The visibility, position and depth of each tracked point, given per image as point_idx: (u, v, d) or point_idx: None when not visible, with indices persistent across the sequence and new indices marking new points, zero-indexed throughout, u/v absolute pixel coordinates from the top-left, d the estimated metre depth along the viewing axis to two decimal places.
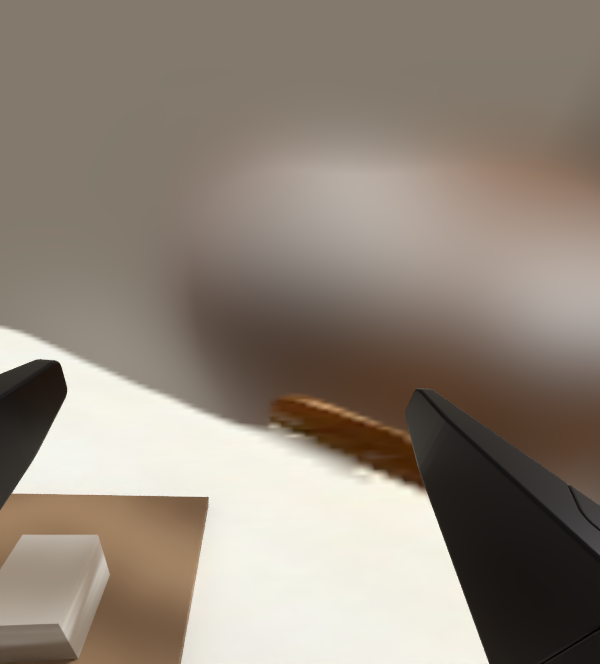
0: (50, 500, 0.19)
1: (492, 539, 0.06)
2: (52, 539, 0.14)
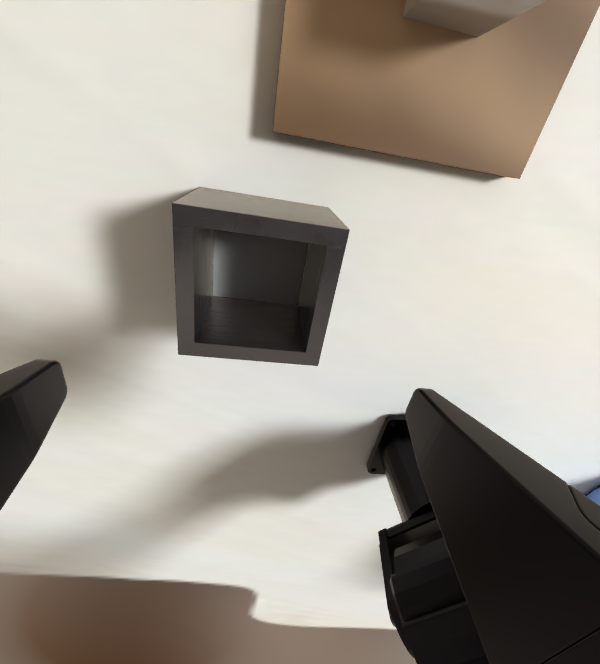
0: None
1: (492, 539, 0.06)
2: None
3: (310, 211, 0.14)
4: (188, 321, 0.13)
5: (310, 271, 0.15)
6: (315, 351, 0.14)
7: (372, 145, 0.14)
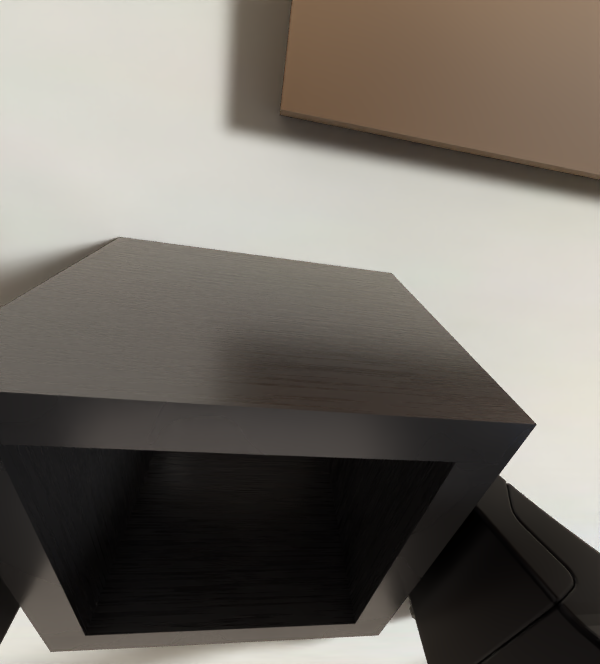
0: None
1: None
2: None
3: (370, 305, 0.06)
4: (57, 612, 0.05)
5: None
6: (377, 620, 0.06)
7: (521, 147, 0.06)
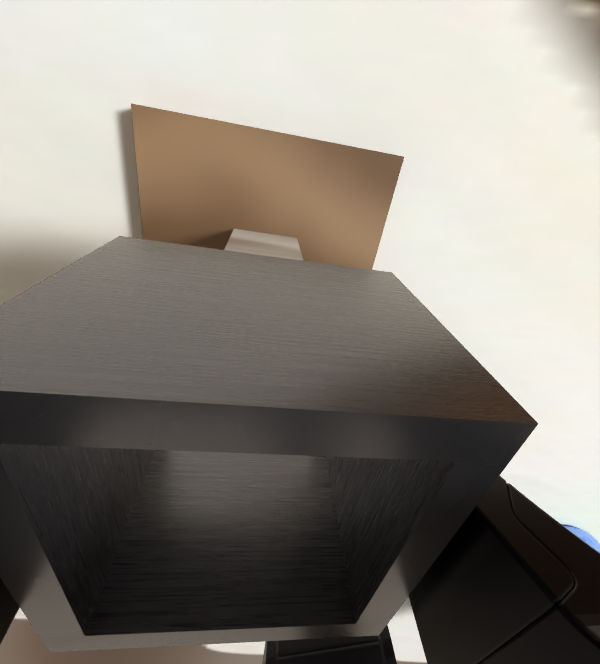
0: (194, 127, 0.13)
1: None
2: None
3: (370, 304, 0.06)
4: (56, 612, 0.05)
5: None
6: (377, 620, 0.06)
7: None
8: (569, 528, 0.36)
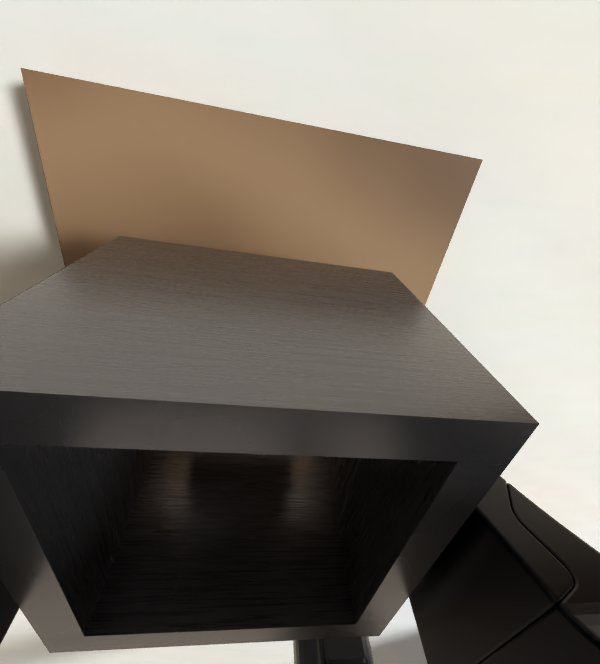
0: (136, 110, 0.08)
1: None
2: None
3: (370, 304, 0.06)
4: (56, 612, 0.05)
5: None
6: (377, 621, 0.06)
7: None
8: None
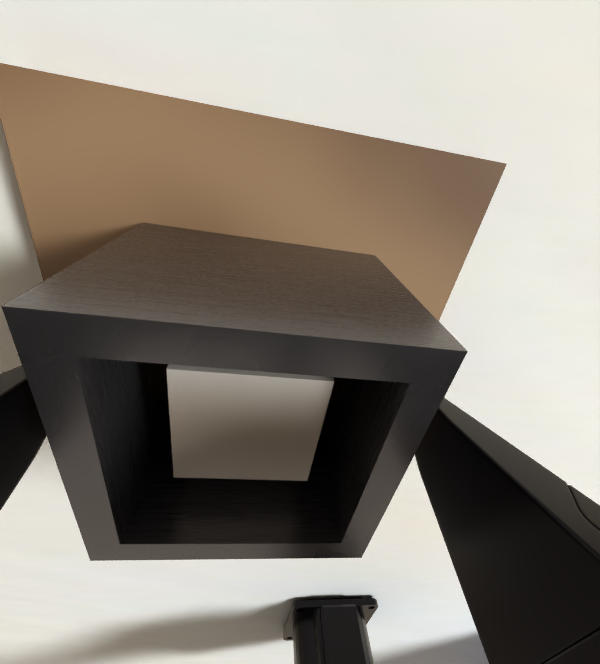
0: (118, 108, 0.07)
1: (492, 539, 0.06)
2: (240, 382, 0.06)
3: (352, 276, 0.07)
4: (100, 517, 0.06)
5: None
6: (359, 540, 0.08)
7: None
8: None
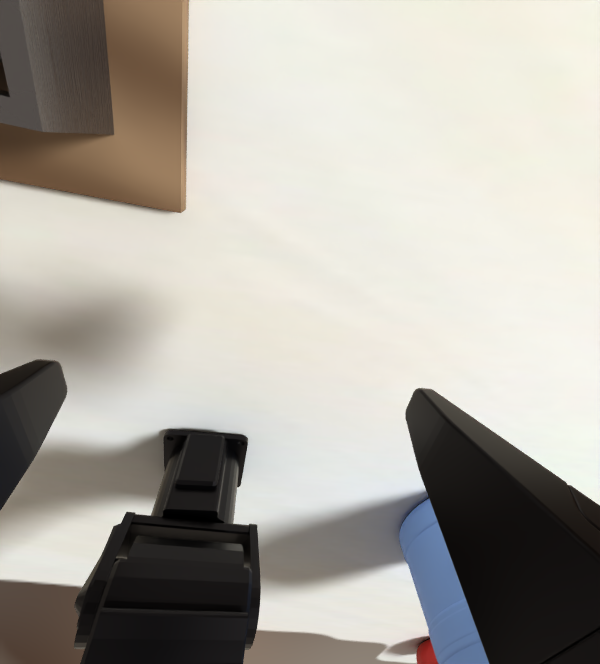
0: None
1: (492, 539, 0.06)
2: None
3: None
4: None
5: None
6: (26, 97, 0.09)
7: (7, 176, 0.14)
8: None
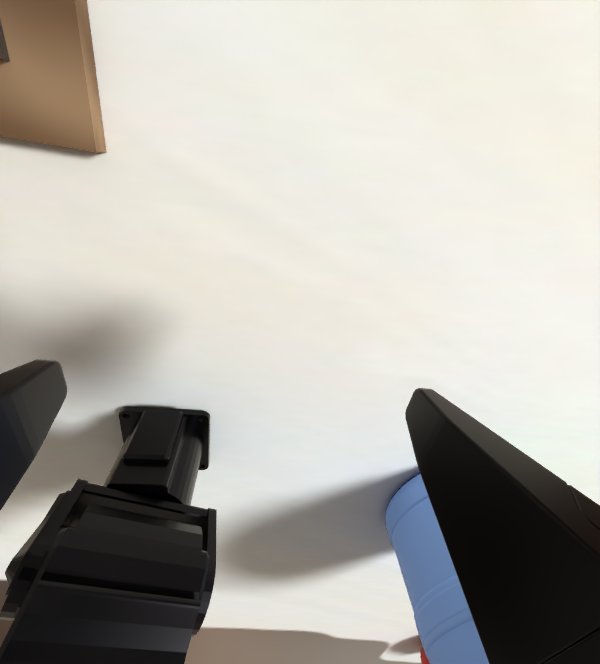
0: None
1: (492, 539, 0.06)
2: None
3: None
4: None
5: None
6: None
7: None
8: None
